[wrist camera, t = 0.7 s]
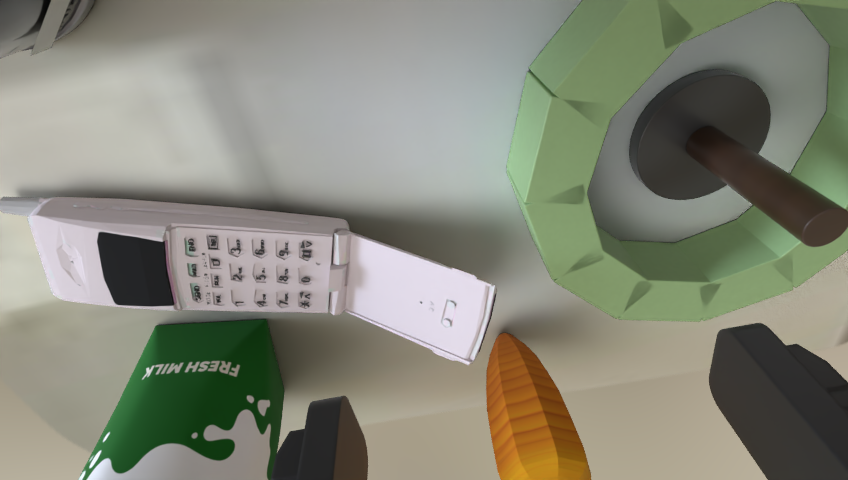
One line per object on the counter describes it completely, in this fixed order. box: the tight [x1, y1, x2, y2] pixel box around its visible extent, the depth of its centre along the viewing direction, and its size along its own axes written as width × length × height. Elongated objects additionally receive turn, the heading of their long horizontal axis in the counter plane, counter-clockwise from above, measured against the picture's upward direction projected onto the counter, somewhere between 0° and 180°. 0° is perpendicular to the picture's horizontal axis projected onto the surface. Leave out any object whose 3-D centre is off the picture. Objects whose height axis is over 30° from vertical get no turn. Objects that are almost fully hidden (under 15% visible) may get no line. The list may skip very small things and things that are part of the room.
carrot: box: [486, 333, 591, 480], centre depth 28 cm, size 5×5×15 cm
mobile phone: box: [0, 197, 497, 365], centre depth 26 cm, size 6×6×25 cm
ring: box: [506, 0, 848, 322], centre depth 25 cm, size 20×20×4 cm
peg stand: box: [629, 70, 848, 247], centre depth 22 cm, size 7×7×10 cm
